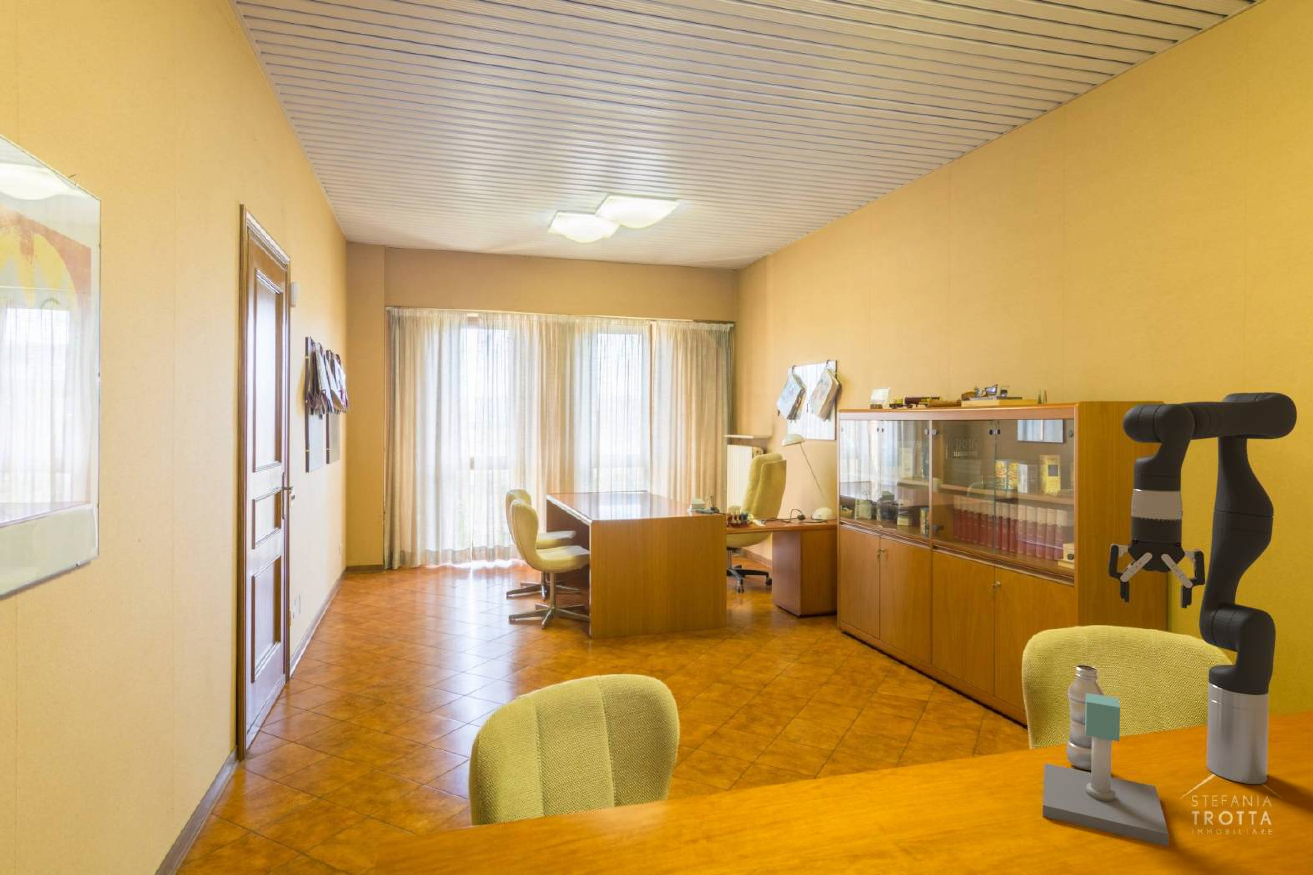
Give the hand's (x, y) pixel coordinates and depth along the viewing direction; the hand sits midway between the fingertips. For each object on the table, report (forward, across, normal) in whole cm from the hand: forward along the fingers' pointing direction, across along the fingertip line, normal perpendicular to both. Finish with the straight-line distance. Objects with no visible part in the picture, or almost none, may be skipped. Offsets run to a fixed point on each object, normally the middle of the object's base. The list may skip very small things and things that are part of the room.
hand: (1154, 604), depth 130 cm
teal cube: (+23, +8, +6) cm, 25 cm away
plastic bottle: (+36, +10, -10) cm, 39 cm away
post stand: (+36, +8, +6) cm, 37 cm away
